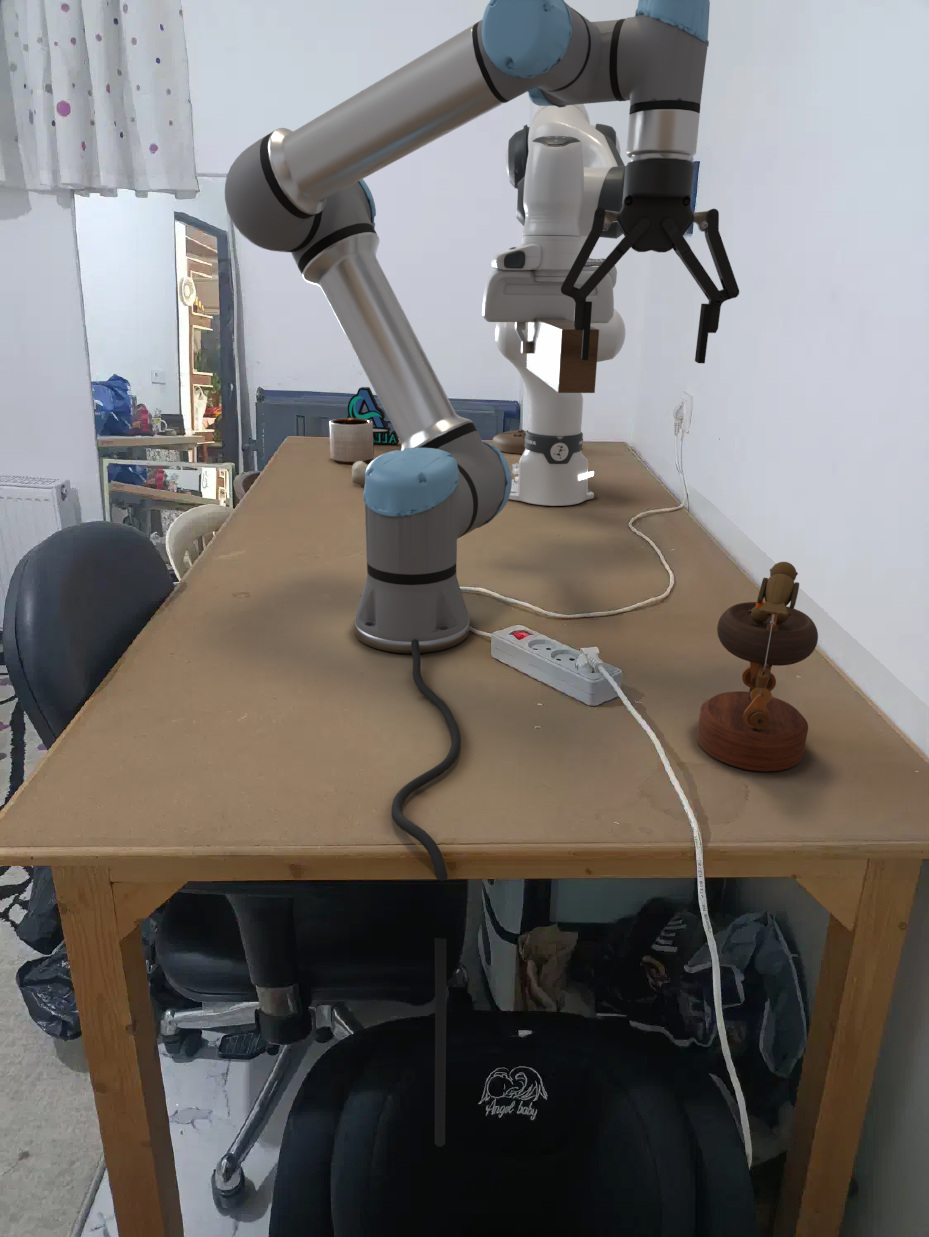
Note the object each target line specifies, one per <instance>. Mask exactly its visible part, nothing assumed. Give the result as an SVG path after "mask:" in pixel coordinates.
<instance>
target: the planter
mask: <svg viewBox="0 0 929 1237" xmlns="http://www.w3.org/2000/svg"><path fill="white" fill-rule="evenodd" d="M328 424H329V425H328V426H329V453H330V454H329V455H330V456H329V457H330V459H331V460H332V461H333V462H335V463H341V464H354V463H355V462H358V461H363V462H364V463H367V462H371V461H373V460H374V456H375V455H374V452H375V451H374V450H375V449H374V444H373V425H374V424H373V421H372V419H370V420H368V419H362V418H347V417H342V418H341V417H340V418H335V419H334V418H333V419H331V420H329V421H328Z"/></svg>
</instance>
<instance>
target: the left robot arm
mask: <svg viewBox="0 0 929 1237" xmlns="http://www.w3.org/2000/svg"><path fill="white" fill-rule="evenodd" d="M710 6H711V0H638V1H637V8H636V9H635V13H634V14H635V15H634V16H630V17H626V18H620V19H613V20H598V21H590V20H589V19H588V18H586V17H585V16H584V15H583V14H581V13H580V12H578V10H576V9H575V8H573V7H572V6H570V5H569V4H568V3H567V2H566V1H565V0H490V1H489V2H488V4H487V5H486V6H485V9H484V12H483V16H482V18H481V20H479V21H477V22H476V23H474V24H472V25H471V26H469V27H467V28H465V29H464V30H462V31H460V32H459V33H456V34H455V35H454V36H452V37H450V38H448V39H447V40H445V41H443V42H441V43H440V44H438V45H436V46H435V47H433V48H432V49H430V50H428V51H427V52H425V53H423V54H422V55H420V56H418V57H416V58H415V59H413V60H411V61H409V62H408V63H406V64H405V65H403V66H401V67H400V68H398V69H396V70H395V71H393V72H391V73H389V74H388V75H386V76H384V77H382V78H381V79H379V80H378V81H375V82H374V83H373V84H370V85H369V86H368V87H365V88H364V89H363V90H361V91H359V92H357V93H356V94H354V95H352V96H351V97H349V98H347V99H345V100H343V101H342V102H341V103H339V104H337V105H335V106H334V107H332V108H330V109H329V110H327V111H325V112H324V113H322V114H320V115H319V116H317V117H315V118H314V119H311V120H310V121H309V122H307V123H305V124H303V125H302V126H300V127H298V128H297V129H295V130H291V129H289V128H286V127H278V128H277V129H275V130H273V131H272V132H270V133H267V134H266V135H265V136H263V137H261V138H259V139H258V140H257V141H255V142H254V143H252V144H251V145H249V146H248V147H247V148H245V149H244V150H243V151H242V152H240V154H239V155H238V156H237V157H236V158H235V159H234V161H233V163H232V164H231V165H230V168H229V170H228V172H227V174H226V179H225V184H224V202H225V206H226V211H227V213H228V216H229V218H230V221H231V222H232V224H233V226H234V227H235V229H236V230H237V232H239V233H240V235H241V236H242V237H243V238H244V239H246V240H247V241H248V242H249V243H251V244H252V245H253V246H255V247H258V248H260V249H262V250H265V251H268V252H277V253H289V254H290V255H291V257H292V259H293V261H294V263H295V265H296V266H297V268H298V270H299V272H300V274H301V276H302V278H303V280H304V281H305V282H306V283H310V284H312V285H315V286H318V287H320V289H321V290H322V292H323V294H324V296H325V298H326V300H327V302H328V304H329V306H330V308H331V310H332V312H333V313H334V316H335V317H336V319H337V321H338V323H339V325H340V327H341V329H342V331H343V333H344V335H345V336H346V338H347V340H348V342H349V344H350V346H351V348H352V350H353V352H354V354H355V357H357V360H358V362H359V364H360V365H361V368H362V370H363V371H364V374H365V375H366V377H367V379H368V381H369V383H370V385H371V387H372V389H373V390H374V392H375V395H376V396H377V398H378V400H379V403H380V404H381V406H382V408H383V411H384V413H385V415H387V418H388V420H389V422H390V424H391V426H392V427H393V429H394V431H395V432H396V434H397V436H398V439H399V442H400V443H401V448H400V450H396V449H395V450H391V451H388V452H385V453H382V454H381V455H379V456H376V457H375V458H373V459H372V460H371V461H370V463H369V464H367V465H368V467H367V469H366V473H365V483H364V488H363V492H362V498H363V501H364V517H365V518H364V520H365V545H366V546H365V548H366V579H365V584H364V586H363V589H362V592H361V594H360V600H359V602H358V606H357V609H356V612H355V617H354V633H355V636H356V638H357V639H358V640H359V641H360V642H362V643H363V644H365V645H367V646H368V647H371V648H374V649H377V650H380V651H384V652H390V653H396V654H397V653H398V654H411V655H412V679H413V681H414V683H415V685H416V687H417V688H418V690H419V691H420V692H421V693H422V694H423V696H424V697H425V698H426V699H428V700H429V701H430V702H431V703H432V704H433V705H434V706H435V707H436V708H437V709H438V710H439V711H440V712H441V715H442V716H443V718H444V720H445V723H446V725H447V727H448V730H449V732H450V737H451V745H450V748H449V751H448V753H447V755H446V756H445V758H444V759H443V760H442V761H440V763H438V764H437V765H435V766H434V767H433V768H431V769H429V770H428V771H425V772H424V773H422V774H420V775H419V776H416V777H415V778H414V779H412V780H410V781H409V782H408V783H406V784H405V785H404V786H402V787H401V788H400V790H398V792H397V793H396V794H395V796H394V798H393V800H392V803H391V817H392V820H393V822H394V823H395V824H396V826H398V827H399V828H400V829H401V830H402V831H404V832H405V833H407V834H408V835H410V836H411V837H412V838H414V839H415V840H417V841H418V843H420V844H421V845H422V846H423V848H424V849H425V850H426V851H427V853H428V855H429V857H430V859H431V862H432V865H433V869H434V874H435V878H436V879H437V880H438V881H441V882H444V881H446V880H448V871H447V866H446V863H445V860H444V857H443V854H442V851H441V849H440V847H439V846H438V845H437V843H436V841H435V840H434V839H433V838H432V836H431V835H429V833H428V832H427V831H426V830H425V829H423V828H422V827H420V825H417V824H416V823H414V822H413V821H411V820H410V819H408V818H407V817H406V816H405V815H404V813H403V806H404V803H405V801H406V800H407V798H408V797H409V796H410V795H411V794H412V793H414V792H415V791H417V790H418V789H419V788H421V787H423V786H425V785H427V784H428V783H430V782H432V781H433V780H435V779H436V778H438V777H439V776H441V775H443V774H444V773H445V772H446V771H448V770H449V769H450V768H451V767H452V766H453V765H454V763H456V760H457V759H458V757H459V755H460V750H461V744H462V737H461V732H460V728H459V726H458V723H457V721H456V718H455V717H454V715H453V713H452V711H451V709H450V708H449V706H448V704H446V702H444V700H443V699H442V698H441V697H440V696H438V694H436V693H435V692H434V691H433V690H432V689H431V688H430V687H429V686H428V685H427V684H426V683H425V681H424V679H423V677H422V672H421V669H422V668H421V665H422V662H421V654H425V653H433V652H439V651H443V650H446V649H449V648H452V647H455V646H457V645H458V644H460V643H462V642H463V641H464V640H466V639H467V637H468V636H469V634H470V616H469V612H468V608H467V606H466V601H465V599H464V596H463V593H462V589H461V586H460V583H459V581H458V577H457V561H458V560H457V559H458V558H457V557H458V556H457V554H458V539H460V538H462V537H463V536H465V535H467V534H469V533H471V532H472V531H474V530H477V529H479V528H481V527H483V526H486V525H487V524H489V523H490V522H491V521H492V520H493V519H494V518H495V517H496V516H498V515H499V514H500V513H501V512H502V510H504V508H505V506H506V505H507V503H508V501H509V500H510V499H509V495H510V492H511V487H512V479H513V478H512V477H513V476H512V470H511V467H510V465H509V462H508V460H507V458H506V456H505V455H504V454H503V453H502V451H499V449H497V448H496V447H495V446H493V444H491V443H489V442H487V441H485V440H482V438H481V435H480V434H479V432H478V430H477V428H476V426H475V425H474V422H473V421H472V420H471V419H469V418H466V417H463V416H460V415H459V414H457V413H456V410H455V409H454V407H453V404H452V403H451V401H450V399H449V397H448V395H447V393H446V391H445V390H444V387H443V385H442V384H441V382H440V379H439V378H438V376H437V374H436V371H435V370H434V368H433V366H432V364H431V362H430V360H429V358H428V356H427V354H426V352H425V350H424V347H423V346H422V344H421V342H420V340H419V338H418V336H417V334H416V332H415V331H414V329H413V326H412V325H411V323H410V321H409V319H408V317H407V315H406V313H405V311H404V309H403V307H402V305H401V303H400V302H399V299H398V297H397V295H396V293H395V291H394V290H393V287H392V286H391V283H390V282H389V280H388V278H387V276H386V273H385V272H384V270H383V268H382V266H381V263H380V262H379V260H378V258H377V252H378V248H379V245H380V238H379V235H378V233H377V231H376V229H375V228H376V222H375V217H376V216H377V209H376V203H375V199H374V197H373V194H372V191H371V189H370V187H369V185H368V184H367V183H366V181H365V180H364V179H365V178H367V177H369V176H371V175H372V174H374V173H376V172H378V171H380V170H382V169H384V168H386V167H388V166H389V165H392V164H394V163H396V162H397V161H399V160H401V159H403V158H405V157H406V156H408V155H410V154H412V153H414V152H415V151H417V150H420V149H421V148H423V147H425V146H427V145H429V144H431V143H432V142H435V141H436V140H438V139H440V138H442V137H444V136H445V135H448V134H449V133H452V132H453V131H455V130H457V129H458V128H460V127H462V126H464V125H466V124H468V123H470V122H472V121H473V120H476V119H478V118H479V117H481V116H483V115H485V114H487V113H488V112H490V111H493V110H494V109H496V108H498V107H500V106H501V105H503V104H506V103H509V102H510V101H512V100H514V99H516V98H519V97H520V96H522V95H524V94H525V93H527V96H528V98H529V100H530V101H531V103H532V104H534V105H535V106H538V107H539V106H557V107H559V108H560V107H565V106H566V105H576V104H583V105H585V104H587V105H588V104H597V103H598V104H599V103H609V102H610V103H611V102H627V101H629V113H628V127H627V128H628V129H627V138H626V153H625V154H626V156H627V157H628V158H629V159H630V161H628V162H627V164H626V165H625V176H624V189H623V201H622V206H621V209H620V211H619V212H616V211H609V210H604V209H603V208H601V207H600V208H597V209H596V210H595V212H594V216H593V222H592V228H591V231H590V233H589V235H588V237H587V239H586V241H585V243H584V244H583V246H582V248H581V250H580V252H579V254H578V256H577V258H576V260H575V262H574V263H573V265H572V267H571V269H570V271H569V273H568V275H567V277H566V279H565V281H564V282H563V284H562V286H561V292H562V293H563V294H564V295H566V296H569V297H571V298H573V299H574V301H575V314H574V327H575V330H583V338H582V354H581V359H582V360H588V355H589V340H590V326H591V311H592V302H591V301H586V297H587V296H588V295H589V294H590V293H591V292H592V291H593V289H594V288H595V287H596V286H597V285H598V284H599V283H600V282H601V280H602V279H603V278H604V277H605V276H606V275H607V274H608V272H609V271H610V270H611V269H612V268H613V267H614V266H615V267H616V265H617V263H618V262H619V261H620V260H621V259H622V258H623V256H624V255H625V254H626V253H627V252H628V251H629V250H630V249H632V250H633V251H634V252H637V253H646V252H650V251H652V252H655V253H668V252H670V251H672V250H673V251H674V253H675V254H676V255H677V257H678V258H679V259H680V261H681V262H682V263H683V265H684V266H685V269H687V272H689V274H690V275H691V277H692V278H693V280H694V281H695V283H696V284H697V286H698V287H699V288H700V290H701V292H702V293H703V294H704V297H706V299H707V300H708V303H701V304H700V313H699V321H698V329H697V336H696V347H695V354H694V355H695V356H694V362H695V363H697V364H705V363H706V357H707V348H708V338H709V334H716V333H717V331H719V330H718V329H719V326H720V325H719V324H720V316H721V309H722V305H723V303H724V302H726V301H730V300H732V299H736V298H737V297H738V296H739V295H740V288H739V285H738V282H737V280H736V277H735V273H734V271H733V268H732V265H731V262H730V259H729V256H728V254H727V251H726V247H725V245H724V242H723V239H722V235H721V233H720V214H719V213H720V212H719V210H718V209H717V208H711V209H708V210H704V211H697V212H694V211H693V209H692V195H693V194H692V193H693V187H694V186H693V185H694V177H695V176H694V175H695V164H694V163H693V161H691V158H693V157H695V155H696V154H697V148H698V138H699V126H700V116H701V114H700V113H701V102H702V97H703V96H702V95H703V88H704V79H705V69H706V63H707V55H708V47H709V45H710V40H709V24H710V9H711V8H710ZM613 222H617V224H618V226H619V227H620V229H621V231H622V233H623V234H622V235H623V238H622V239H621V240H620V241H619V242H618V244H616V246H615V247H614V248H613V250H611V252H610V253H609V254H608V255H607V256H606V258H604V259H605V260H604V261H603V262H602V263H601V265H600V266H597V267H598V268H597V269H596V270H595V271H594V273H593V274H592V275H591V276H590V277H589V278H588V279H587V281H586V282H585V283H584V284H583V285H582V286H581V288H580V289H579V288H576V287H574V284H575V283H576V281H577V279H578V277H579V275H580V273H581V271H582V269H583V267H584V266H585V264H586V262H587V260H588V258H590V257H591V255H592V253H593V251H594V249H595V247H596V245H597V243H598V241H599V239H600V238H601V237H600V235H601V232H602V230H603V231H605V230H607V229H609V227H610V225H611V224H612V223H613ZM693 224H695V225H697V228H698V231H699V232H701V233H704V238H705V242H706V243H707V247H708V249H709V253H710V255H711V258H712V261H713V264H714V267H715V270H716V273H717V276H718V279H719V281H720V284H721V287H722V289H720V290H719V288H718V287H717V285H716V284H715V282H714V281H713V279H712V278H711V277H710V275H709V274H708V272H707V271H706V269H705V267H704V266H703V265H702V263H701V262H700V260H699V259H698V257H697V256H696V254H695V252H694V251H693V250H692V248H691V245H690V244H689V243H688V241H687V240H686V239H685V237H684V236H685V234H686V233H687V232H688V230H689V229H690V227H691V226H692V225H693ZM434 986H435V987H434V1017H435V1018H434V1032H435V1033H434V1144H435V1146H436V1147H439V1148H440V1147H443V1146H444V1145H445V1144H446V1083H447V1082H446V1079H447V1078H446V1077H447V1076H446V1074H447V1073H446V1072H447V1068H446V1067H447V938H444V937H434Z"/></svg>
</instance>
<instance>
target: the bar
mask: <svg viewBox="0 0 929 1237" xmlns="http://www.w3.org/2000/svg"><path fill="white" fill-rule="evenodd" d="M582 338H583V330H575V327H574V321H571V320H568V319H555V318H534V322H528V341H531V342H532V347H531V349H532V350H531V353H527V367H526V368H527V369H528V370H529V371H531V372H532V373H533V374H535V375H536V376H537V377H539V378H540V379H541V380H542V381H544V382H545V383H546V384H548V385H549V386H550V387H551V388H553V389H554V390H555V391H557V392H558V393H582V394H595V392H596V380H597V365H598V362H597V354H598V340H599V329H596V328H593V327H590V340H589V355H588V360H582V359H581V354H582Z"/></svg>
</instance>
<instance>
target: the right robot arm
mask: <svg viewBox="0 0 929 1237" xmlns="http://www.w3.org/2000/svg"><path fill="white" fill-rule="evenodd" d="M625 166H626V165H625V163H624V161H623V159H622V157H621V145H620V141H619V138H618V136H617V131H616V130H615V128H614V127H613V126H612V125H607V124H602V123H595V125H594V124H591V120H590V116H589V113H588V110H587V109H586V106H585V104H576V105H566V106H565V107H560V108H559V107H557V106H539V105H538V106H537V108H536V110H535V111H534V114H533V116H532V119H531V122H530V125H529V126H528V124H525V125H523V128H521V129H519V130H518V131H515V132H514V133H513V135H512V136H511V137H510V138H509V139H508V144H507V146H506V150H505V154H504V167H505V172H506V175H507V177H508V179H509V184H511V186H512V187H513V188H514V189H516V190H517V199H516V200H517V201H516V204H517V207H516V216H515V217H516V219H517V221H518V222H519V224H521V225H522V226H523V228H522V232H521V244H520V245H519V246H512V247H510V248H508V249H507V250H504V251H501V252H498V253H495V254H493V255H492V257H491V267H492V269H493V271H491V272H490V273H489V274H488V276H487V277H486V280H485V285H484V288H483V295H482V306H481V316H482V318H483V319H484V320H485V321H486V322H488V323H496V324H495V328H494V340H495V344H496V347H497V348H498V351H499V352H500V353H501V355H502V356H503V357H504V358H505V359H506V360H508V361H509V362H510V363H511V364H512V365H513V367H515V368H516V370H517V371H518V373H519V374H520V377H521V378H522V381H523V382H524V385H525V390H526V396H527V410H528V411H527V412H528V416H527V417H528V418H527V430H525V431H526V436H525V445H524V446H525V451H524V453H523V454H521V456H520V459H519V460H518V462H515V463H511V475H518V476H514V478H512V487H511V492H510V495H509V499H508V500H510V501H511V500H512V501H519V502H523V503H526V504H527V503H528V504H531V505H538V506H549V507H550V506H551V507H557V506H558V507H559V506H560V507H561V506H573V505H579V504H580V503H583V502H585V501H587V500H592V499H594V498H595V493H594V492H593V491H591V490H589V488H588V487H589V484H588V483H589V478H591V477H594V475H595V471H594V470H592V471H589V460H588V459H587V458H586V456H584V454H583V453H582V450H583V443H584V434H583V431H582V425H583V424H582V423H583V410H584V397H583V393H558V392H557V391H555V390H554V389H553V388H551V387H550V386H549V385H548V384H546V383H545V382H544V381H542V380H541V379H540V378H539V377H537V376H536V375H535V374H533V373H532V372H531V371H529V370H528V369H527V368H526V367H527V353H531V350H532V349H531V347H532V342H531V341H528V322H534V318H555V319H568V320H571V321H574V314H575V301H574V299H573V298H571V297H569V296H566V295H564V294H563V293H562V292H561V286H562V284H563V282H564V281H565V279H566V277H567V275H568V273H569V271H570V269H571V267H572V265H573V263H574V262H575V260H576V258H577V256H578V254H579V252H580V250H581V248H582V246H583V244H584V243H585V241H586V239H587V237H588V235H589V233H590V231H591V228H592V222H593V216H594V212H595V210H596V209H597V208H600V207H601V208H603V209H604V210H609V211H616V212H619V211H620V209H621V206H622V201H623V189H624V176H625ZM623 235H624V234H623V233H622V231H621V229H620V227H619V226H618V224H617V222H613V223H612V224H611V225H610V227H609V229H607V230H605V231H603V230H602V232H601V235H600V237H599V238H606V239H614V240H615V239H619V238H620V237H621V236H623ZM605 259H606V258H590V257H589V258H588V260H587V262H586V264H585V266H584V267H583V269H582V271H581V273H580V275H579V277H578V279H577V281H576V283H575V284H574V287H576V288H579V289H580V288H581V286H582V285H583V284H584V283H585V282H586V281H587V279H588V278H589V277H590V276H591V275H592V274H593V273H594V271H595V270H596V269H597V268H598V267H599V266H600V265H601V263H602V262H603V261H604V260H605ZM617 275H618V272H617V267H616V265H615V266H614V267H613V268H612V269H611V270H610V271H609V272H608V274H607V275H606V276H605V277H604V278H603V279H602V280H601V282H600V283H599V284H598V285H597V286H596V287H595V288H594V289H593V291H592V292H591V293H590V294H589V295H588V296H587V297H586V301H591V302H592V311H591V326H590V327H593V328H596V329H599V340H598V354H597V363H600V362H604V361H611V360H613V359H615V358H616V357H617V355H619V353H620V352H621V350H622V348H623V346H624V344H625V340H626V325H625V322H624V319H623V316H622V315H621V314H620V313H619V311H618V310H617V309H615V302H614V301H615V300H614V299H615V298H614V296H615V295H614V288H615V286H616V284H617V277H618V276H617Z"/></svg>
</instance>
